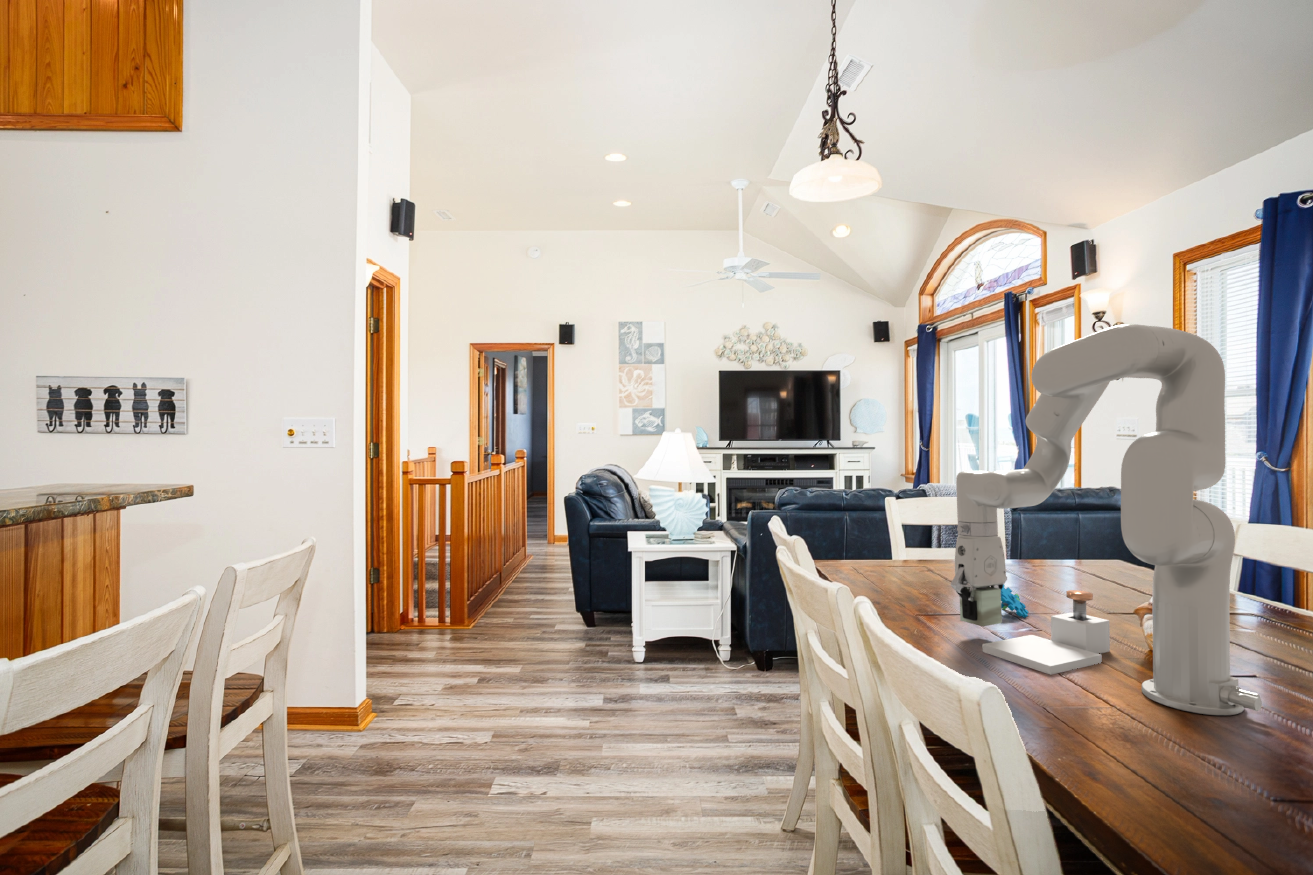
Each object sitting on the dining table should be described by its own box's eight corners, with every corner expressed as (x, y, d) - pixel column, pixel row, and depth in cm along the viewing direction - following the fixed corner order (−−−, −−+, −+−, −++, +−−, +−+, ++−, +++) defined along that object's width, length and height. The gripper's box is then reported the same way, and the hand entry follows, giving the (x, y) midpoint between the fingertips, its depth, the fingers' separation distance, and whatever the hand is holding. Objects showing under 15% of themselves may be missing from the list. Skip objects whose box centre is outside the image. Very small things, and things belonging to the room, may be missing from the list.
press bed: (1128, 656, 126) (1128, 624, 126) (1050, 674, 117) (1050, 640, 117) (1057, 636, 139) (1057, 607, 139) (982, 651, 130) (982, 620, 130)
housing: (1001, 623, 137) (1000, 586, 137) (982, 626, 135) (981, 589, 135) (979, 617, 142) (977, 582, 142) (960, 620, 140) (959, 585, 140)
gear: (1022, 615, 150) (990, 579, 155) (1001, 630, 152) (970, 594, 158) (1038, 613, 157) (1006, 578, 163) (1018, 627, 160) (988, 593, 166)
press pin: (1098, 624, 130) (1098, 593, 130) (1083, 627, 128) (1083, 596, 128) (1076, 619, 134) (1075, 589, 134) (1061, 621, 132) (1061, 591, 132)
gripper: (962, 534, 132) (965, 626, 132) (1022, 528, 139) (1025, 616, 139) (932, 531, 139) (935, 618, 139) (991, 525, 146) (994, 608, 146)
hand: (980, 616), depth 139 cm, fingers closed on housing, 5 cm apart
